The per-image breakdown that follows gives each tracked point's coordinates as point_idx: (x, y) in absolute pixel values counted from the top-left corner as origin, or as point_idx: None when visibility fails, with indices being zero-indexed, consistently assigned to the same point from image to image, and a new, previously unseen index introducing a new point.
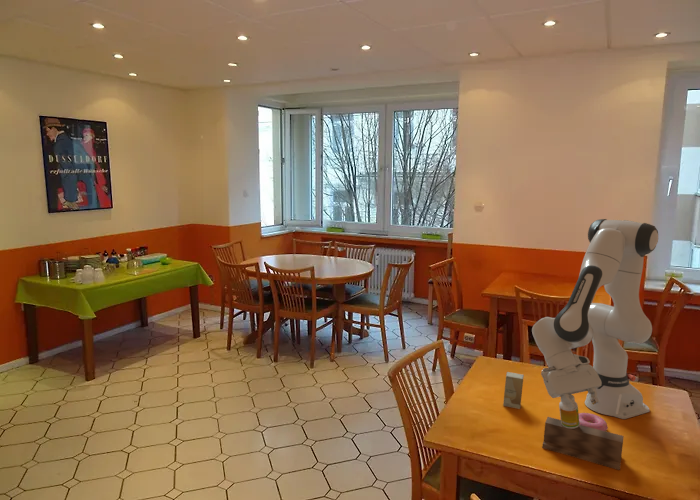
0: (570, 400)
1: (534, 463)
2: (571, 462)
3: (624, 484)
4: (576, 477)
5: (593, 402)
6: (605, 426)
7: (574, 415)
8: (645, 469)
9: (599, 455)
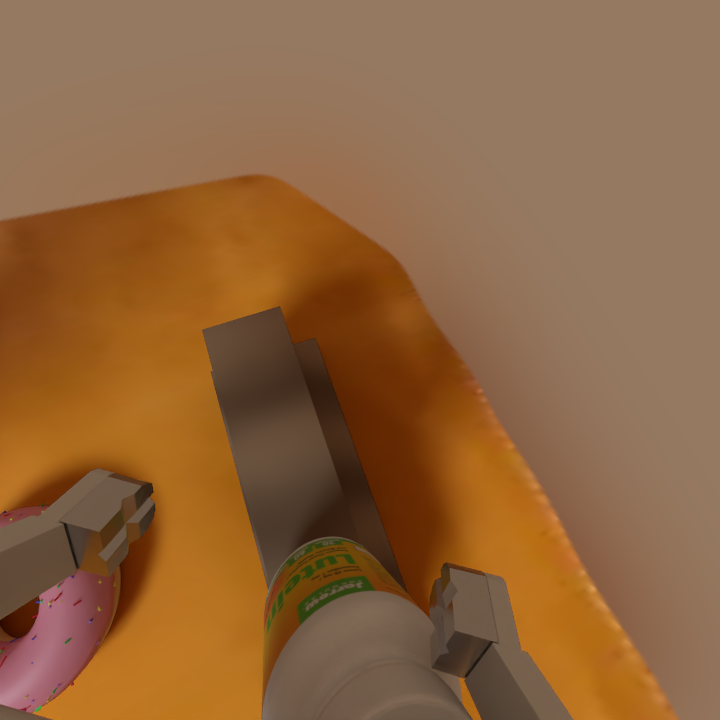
0: (531, 685)
1: (562, 588)
2: (418, 486)
3: (388, 304)
4: (492, 422)
5: (140, 516)
6: (21, 514)
7: (383, 576)
8: (238, 292)
9: (317, 415)
